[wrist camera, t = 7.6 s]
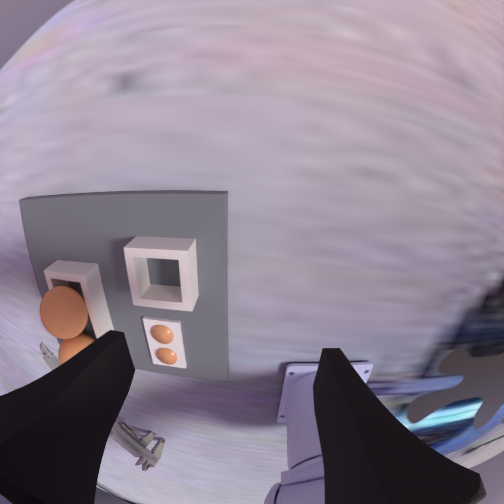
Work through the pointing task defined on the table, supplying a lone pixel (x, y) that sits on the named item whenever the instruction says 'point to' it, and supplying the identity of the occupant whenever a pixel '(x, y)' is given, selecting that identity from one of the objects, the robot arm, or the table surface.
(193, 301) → the tube
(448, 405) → the table surface
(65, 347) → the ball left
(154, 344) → the card
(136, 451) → the caliper
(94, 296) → the hollow rectangular frame
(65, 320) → the ball
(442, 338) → the table surface
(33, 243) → the mat
